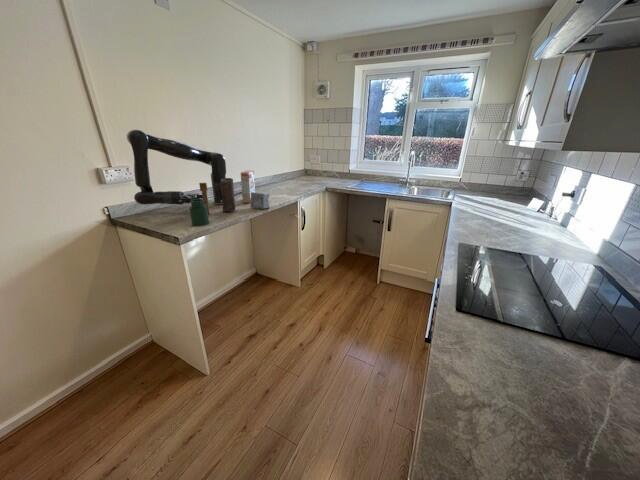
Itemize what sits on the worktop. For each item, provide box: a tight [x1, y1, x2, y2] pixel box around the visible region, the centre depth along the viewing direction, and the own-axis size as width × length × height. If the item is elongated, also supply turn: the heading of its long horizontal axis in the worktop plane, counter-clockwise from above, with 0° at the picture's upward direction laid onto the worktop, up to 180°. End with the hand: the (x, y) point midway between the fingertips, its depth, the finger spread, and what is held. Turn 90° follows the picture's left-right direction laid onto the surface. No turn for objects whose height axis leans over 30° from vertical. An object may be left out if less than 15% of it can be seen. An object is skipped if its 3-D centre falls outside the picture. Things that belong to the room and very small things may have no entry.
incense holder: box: [250, 191, 270, 210], centre depth 167 cm, size 10×8×10 cm
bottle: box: [189, 199, 210, 227], centre depth 135 cm, size 8×8×12 cm
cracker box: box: [240, 169, 256, 204], centre depth 182 cm, size 14×6×21 cm, turn 179°
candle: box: [220, 177, 236, 213], centre depth 156 cm, size 8×7×20 cm
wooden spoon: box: [199, 182, 210, 216], centre depth 150 cm, size 3×4×18 cm
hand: (202, 198), depth 150 cm, fingers open, 8 cm apart
